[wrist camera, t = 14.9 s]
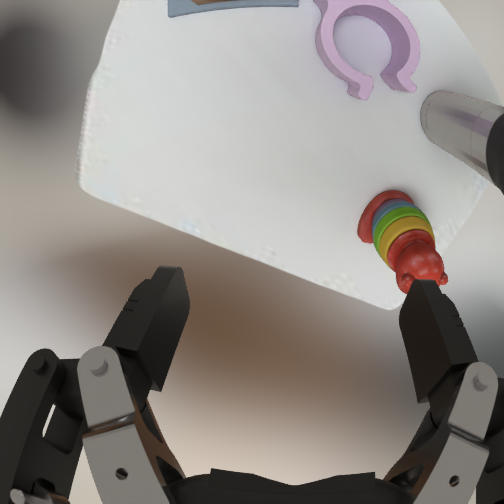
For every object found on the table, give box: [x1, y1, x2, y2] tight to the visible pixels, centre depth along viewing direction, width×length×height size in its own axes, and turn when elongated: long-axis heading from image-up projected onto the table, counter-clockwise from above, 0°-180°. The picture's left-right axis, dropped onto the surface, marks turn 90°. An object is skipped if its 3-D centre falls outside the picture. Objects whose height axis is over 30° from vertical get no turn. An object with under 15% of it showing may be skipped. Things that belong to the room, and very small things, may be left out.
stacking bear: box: [358, 190, 448, 294], centre depth 36 cm, size 11×10×18 cm
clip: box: [313, 0, 420, 100], centre depth 25 cm, size 20×12×7 cm, turn 20°
